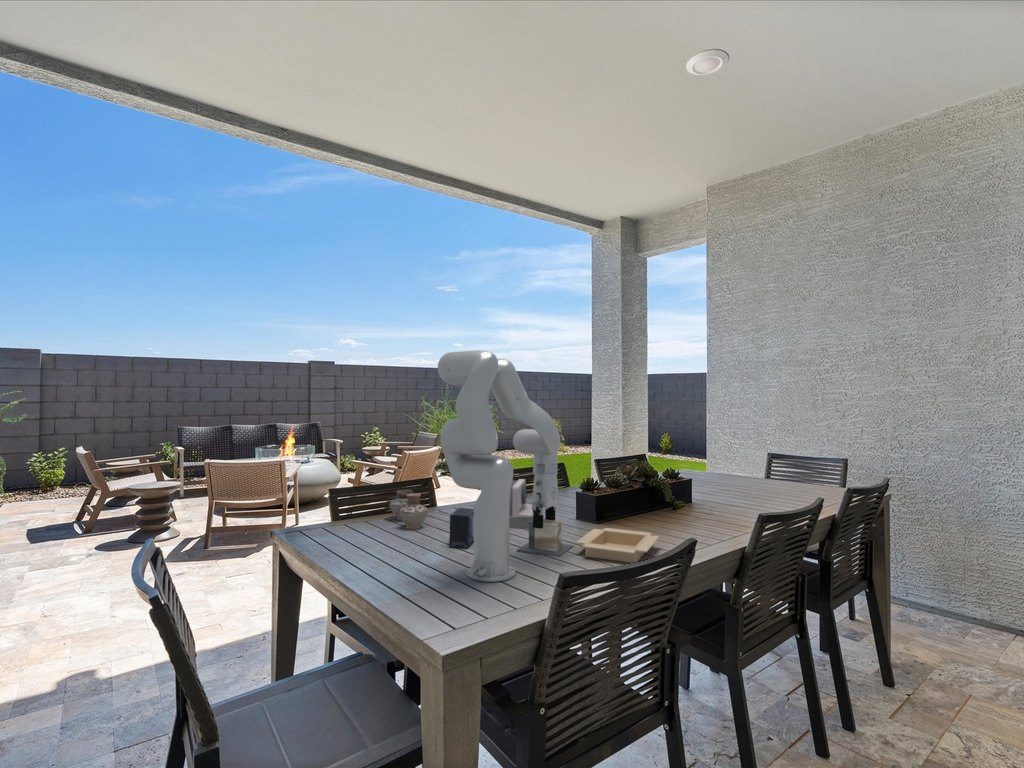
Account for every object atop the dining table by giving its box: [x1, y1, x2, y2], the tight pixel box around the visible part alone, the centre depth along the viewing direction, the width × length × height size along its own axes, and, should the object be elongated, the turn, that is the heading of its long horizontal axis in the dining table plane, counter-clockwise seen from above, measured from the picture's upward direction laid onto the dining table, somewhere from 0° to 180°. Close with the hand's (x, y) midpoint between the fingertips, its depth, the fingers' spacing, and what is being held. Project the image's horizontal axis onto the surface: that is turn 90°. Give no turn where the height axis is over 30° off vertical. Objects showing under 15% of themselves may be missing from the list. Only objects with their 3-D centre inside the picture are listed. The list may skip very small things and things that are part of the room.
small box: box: [448, 507, 474, 549], centre depth 172 cm, size 11×6×10 cm, turn 168°
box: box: [528, 518, 563, 551], centre depth 166 cm, size 5×9×8 cm, turn 64°
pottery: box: [389, 489, 428, 530], centre depth 200 cm, size 11×25×12 cm, turn 25°
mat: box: [516, 542, 575, 558], centre depth 166 cm, size 12×14×1 cm
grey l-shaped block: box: [509, 478, 533, 530], centre depth 203 cm, size 21×21×15 cm
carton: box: [575, 527, 660, 564], centre depth 163 cm, size 24×21×4 cm
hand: (544, 525), depth 166 cm, fingers open, 9 cm apart
